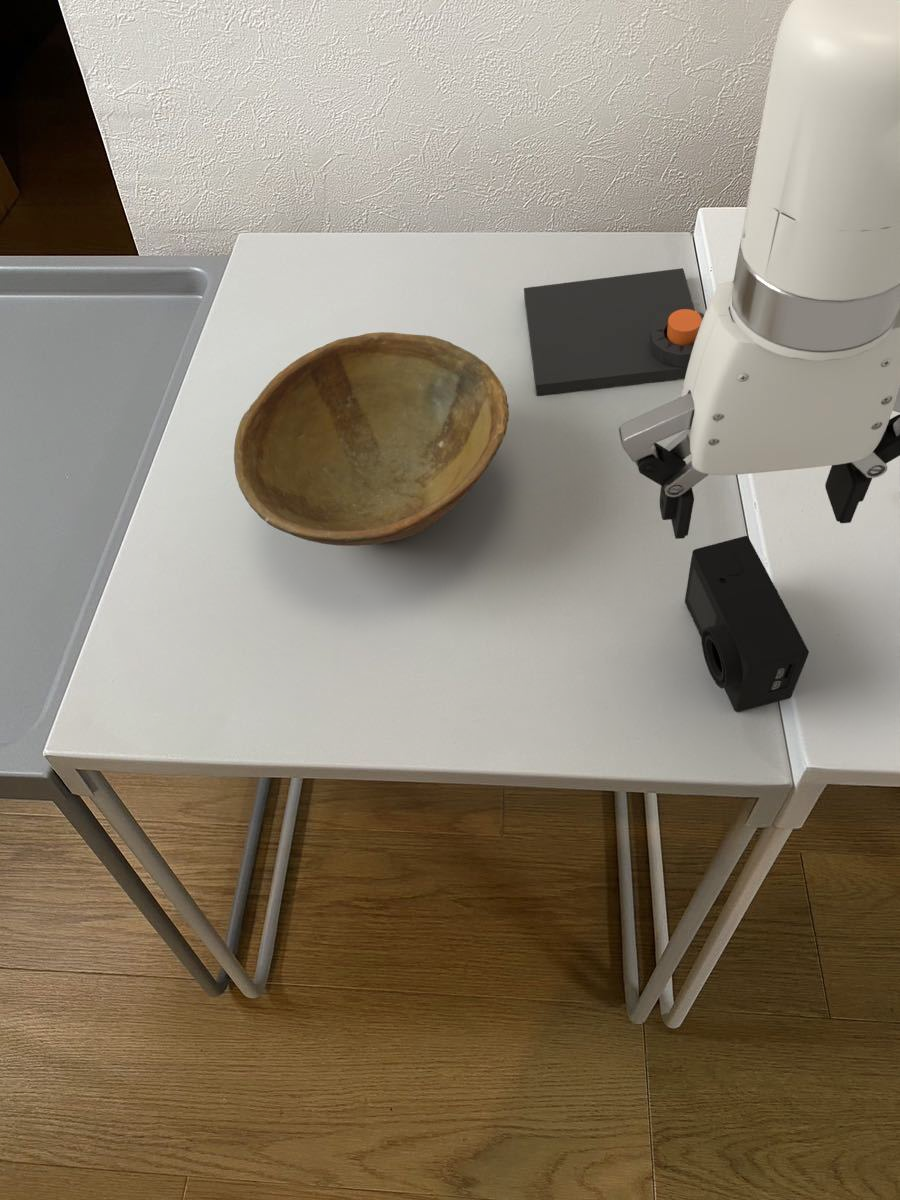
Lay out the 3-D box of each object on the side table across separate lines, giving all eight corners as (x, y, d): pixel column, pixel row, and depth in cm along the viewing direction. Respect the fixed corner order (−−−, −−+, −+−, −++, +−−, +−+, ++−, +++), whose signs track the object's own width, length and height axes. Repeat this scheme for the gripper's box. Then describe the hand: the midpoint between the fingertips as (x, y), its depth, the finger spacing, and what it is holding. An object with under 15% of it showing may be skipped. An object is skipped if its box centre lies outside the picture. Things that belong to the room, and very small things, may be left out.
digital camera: (668, 603, 74) (675, 551, 68) (734, 586, 74) (747, 532, 68) (719, 717, 68) (731, 671, 62) (790, 698, 68) (809, 650, 62)
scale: (691, 278, 94) (694, 252, 92) (718, 374, 86) (722, 350, 84) (524, 298, 95) (522, 274, 93) (536, 395, 88) (535, 372, 85)
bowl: (564, 529, 79) (562, 449, 71) (320, 651, 75) (288, 582, 67) (447, 378, 90) (433, 294, 82) (231, 476, 87) (194, 399, 79)
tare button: (696, 322, 87) (698, 307, 85) (702, 343, 85) (704, 328, 84) (664, 325, 87) (665, 310, 86) (669, 347, 85) (671, 332, 84)
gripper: (984, 209, 44) (883, 452, 58) (617, 251, 45) (606, 480, 60) (1045, 314, 40) (920, 548, 54) (641, 357, 41) (622, 575, 56)
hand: (756, 512), depth 57 cm, fingers open, 9 cm apart
